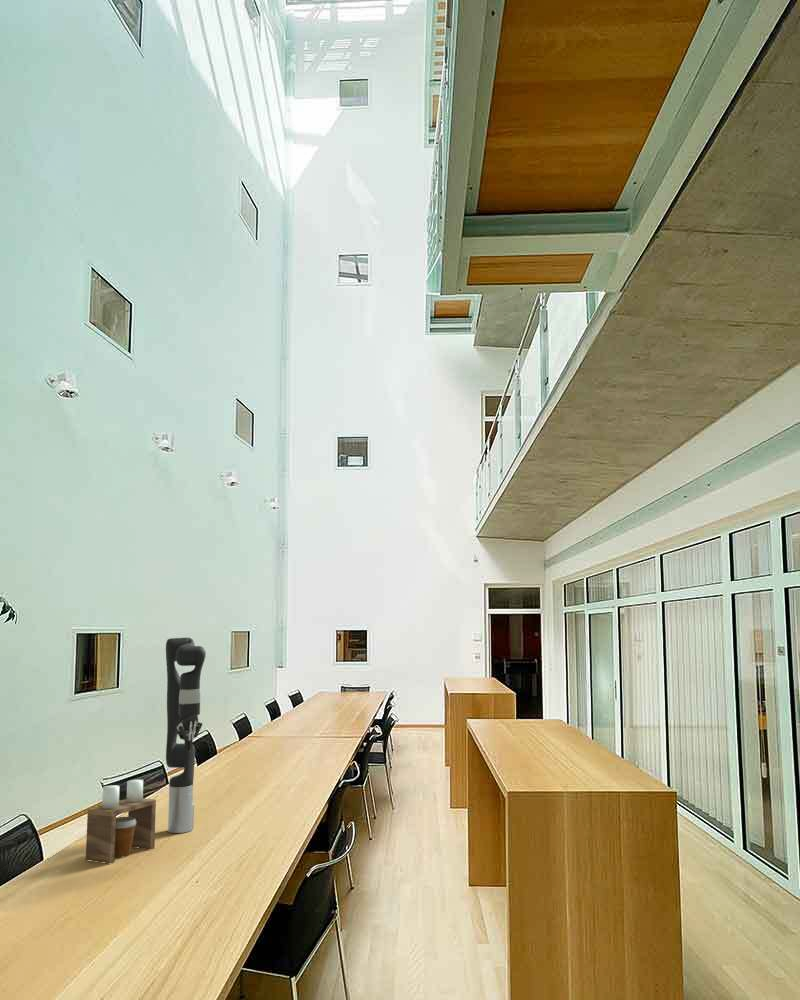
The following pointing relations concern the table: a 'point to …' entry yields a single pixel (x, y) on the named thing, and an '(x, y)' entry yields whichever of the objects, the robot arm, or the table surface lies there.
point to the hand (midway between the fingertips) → (188, 751)
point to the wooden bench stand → (104, 826)
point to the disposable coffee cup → (124, 835)
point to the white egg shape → (134, 791)
